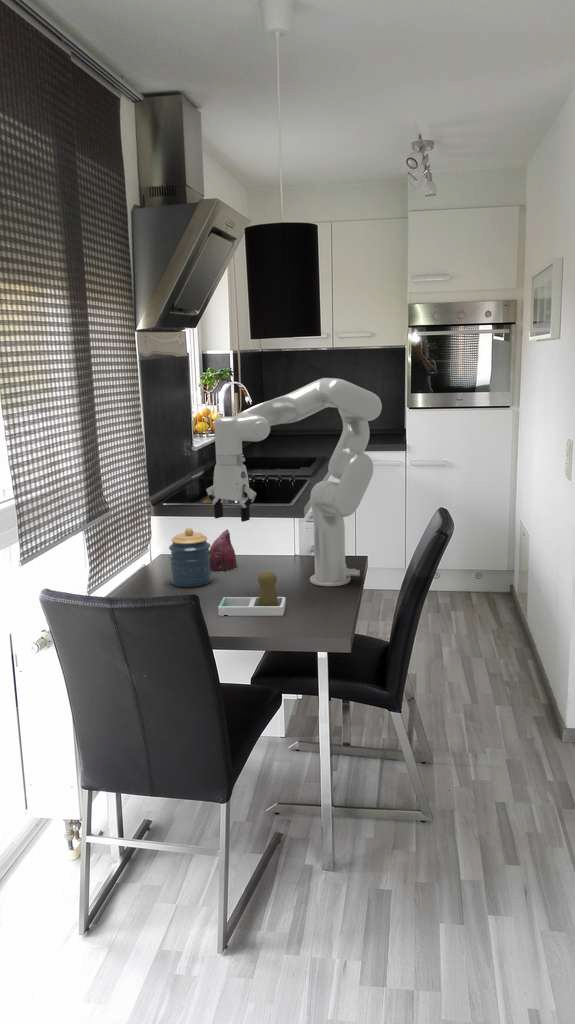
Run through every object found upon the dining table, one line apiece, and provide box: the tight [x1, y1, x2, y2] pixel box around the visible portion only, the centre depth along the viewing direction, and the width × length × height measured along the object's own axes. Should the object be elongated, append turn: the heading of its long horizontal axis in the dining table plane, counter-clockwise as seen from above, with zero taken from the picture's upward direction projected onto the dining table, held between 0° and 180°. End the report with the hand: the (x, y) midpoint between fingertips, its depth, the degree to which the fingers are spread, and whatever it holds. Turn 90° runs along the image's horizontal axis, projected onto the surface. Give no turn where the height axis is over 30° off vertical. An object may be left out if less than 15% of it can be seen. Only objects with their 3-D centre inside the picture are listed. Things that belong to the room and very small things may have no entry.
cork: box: [257, 571, 278, 606], centre depth 231 cm, size 6×6×11 cm
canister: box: [168, 527, 213, 588], centre depth 261 cm, size 13×13×18 cm
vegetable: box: [209, 529, 238, 572], centre depth 277 cm, size 10×10×15 cm
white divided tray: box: [217, 596, 287, 617], centre depth 232 cm, size 18×9×2 cm, turn 85°
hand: (232, 519), depth 239 cm, fingers open, 9 cm apart
